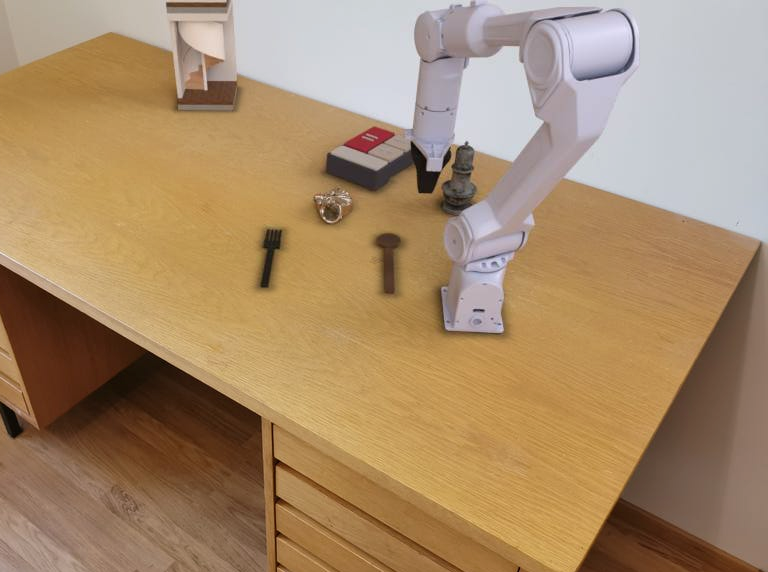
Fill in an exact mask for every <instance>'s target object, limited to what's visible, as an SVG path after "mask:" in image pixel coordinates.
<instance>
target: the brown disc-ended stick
mask: <svg viewBox="0 0 768 572" xmlns="http://www.w3.org/2000/svg"><path fill="white" fill-rule="evenodd" d="M400 245H401V237H400V236H398V235H397V234H396V233H395V234H394V233H391V232H390V233H389V232H387V233H382V234H380V235H379V236H378V237H377V246H379V247H380V248H382V249H384V293H385V294H395V263H394V249H397V248H398V247H400Z"/></svg>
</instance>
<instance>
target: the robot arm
mask: <svg viewBox="0 0 768 572" xmlns="http://www.w3.org/2000/svg"><path fill="white" fill-rule="evenodd" d="M603 10H604V8H603V7H598V6H556V7H550V8H542V9H536V10H529V11H522V12H515V13H514V12H513V13H508V14H506V13H505V11H504V10H503V9H502V8H501V7H500V6H498V5H496V4H493V3H488V0H470V2H469V6H468V5H467V6H463V2H459V3H452V4H450V5H449V7H448V8H444V9H437V10H425V11H424V12H423V13H421V14H419V16H417V19H416V21H415V23H414V29H413V40H414V46H415V50H416V52H417V55H418V56H419V57H420V59H419V67H418V75H417V85H416V93H415V94H416V95H415V102H414V103H415V104H414V113H413V122H412V128H405V129H403V133H402V134H403V135H402V136H404V139H405V140H411V142H410V145H411V156H412V159H413V161H414V163H413V164H414V166H415V171H416V172H415V173H416V186H417V193H418V194H428V195H432V194H433V193H434V191H435V188H436V186H437V183H438V181H439V179H440V176H441V173H442V172H443V171H444V168H445V167H446V166H447V164H448V163H450V161H451V159H452V150H451V148H452V145H453V144H454V142H455V137H456V134H455V128H456V121H457V114H458V109H459V107H458V106H459V103H460V101H459V100H460V95H461V94H460V93H461V88H462V81H463V74H464V70H465V69H467V68H468V66H469V63H470V59H471V58H472V59H473V58H477V59H478V58H491V57H493V56H495V55H496V54H498V53H499V52H500V51H501V50H502V49H503V47H519V50H518V60H519V62H520V63H521V64H523V69H524V72H525V73H524V74H525V78H526V81H527V86H528V90H529V94H530V99H531V104H532V109H533V113H534V116H535V117H536V118H537V119H539V120H541V121H543V123H541V125H540V126H539V128H538V129H537V130H536V132H535V133H534V134H533V135H532V137H531V138H530V139H529V140H528V142H527V143H526V145H525V146H524V147H523V148H522V150H521V151H520V153H519V154H518V155H517V157H516V158H515V159H514V160H513V162H512V163H511V164H510V166H509V167H508V168H507V169H506V171H505V172H504V173H503V175H502V176H501V178H500V179H499V180H498V181H497V183H496V184H495V185H494V187H492V189H491V190H490V192H489V193H488V194H487V196H486V197H485V198H483V199H481V200H480V201H478V202H476V203H475V204H471V205H472V206H471V207H469V208H467V209H465V210H463V211H462V212H461V213H460V215H457V216H453V217H450V218H449V219H448V220H447V221H446V223H445V225H444V228H443V233H442V242H443V247H444V249H445V252H446V254H447V257H449V259H450V260H451V261H452V263H451V268H450V273H449V280H448V286H442V287H441V288H440V294H441V304H442V305H441V306H442V314H443V315H442V316H443V325H444V330H446V331H447V332H449V331H452V332H472V333H490V334H493V333H494V334H502V333H503V332H504V330H505V328H504V323H503V319H502V318H503V317H502V308H503V304H504V300H505V293H504V286H503V284H504V281H505V277H506V271H507V267H508V264H509V262H510V261H512V260H513V259H514V258H515V257H514V256H515V253H516V252H518V251H521V250H522V249H523V248H524V247H525V246H526V244H527V242H528V239H529V234H530V232H531V231H532V230H533V228H534V227H535V226H536V224H535V223H536V222H535V220H534V215H533V212H534V211H535V210H536V209H537V207H539V205H540V204H541V203H542V202H543V201H544V200H545V199H546V198H547V196H548V195H549V194H550V193H551V192H552V190H554V188H555V187H556V186H557V185H558V184H559V183H560V182H561V181H562V180H563V179H564V178H565V176H567V174H568V173H569V172H570V171H571V170H572V169H573V168H574V167H575V165H576V164H577V163H578V162H579V161H580V160H581V159H582V158H583V157H584V155H585V154H586V153H587V152H588V151H589V150H590V149H591V147H593V145H595V143H596V142H597V141H598V140H599V139H600V138H601V136H602V135H603V132H604V130H605V129H606V125H607V124H608V120H609V119H610V115H611V113H612V111H613V108H614V105H615V103H616V100H617V98H618V96H619V94H620V91H621V88H622V87H623V86H624V85H625V84H626V83H627V81H628V80H629V79H630V78H631V77H632V76H633V75H634V73H635V72H636V71H637V70H638V69H639V67H640V65H641V64H640V63H641V61H640V59H641V57H640V56H641V55H640V53H641V51H640V49H641V48H640V46H641V45H640V30H639V29H640V28H639V26H638V23H637V21H636V18H635V17H634V15H633V14H632V13H631V12H630V11H629V10H627V9H624V8H622V7H621V8H620V7H613V8H611V9H608V10H605V11H603Z"/></svg>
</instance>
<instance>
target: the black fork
mask: <svg viewBox="0 0 768 572" xmlns="http://www.w3.org/2000/svg"><path fill="white" fill-rule="evenodd" d="M282 233H283V230H282V229H269V228H267V230H266V234H265V239H264V241H263V245H262V246H263V247H262V248H263V249H267V250H266V255H265V261H264V266H263V271H262V277H261V281H260V288H265V289H267V288H269V285H270V278H271V274H272V269H273V262H274V255H275V250H280V248H281V245H282V244H281V239H282Z"/></svg>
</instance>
